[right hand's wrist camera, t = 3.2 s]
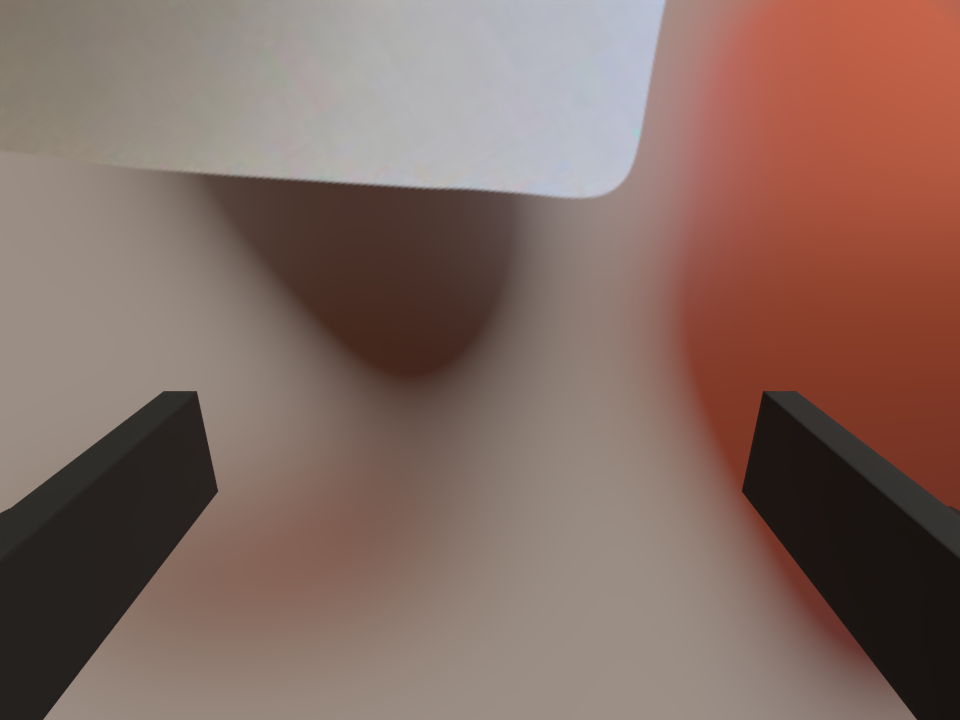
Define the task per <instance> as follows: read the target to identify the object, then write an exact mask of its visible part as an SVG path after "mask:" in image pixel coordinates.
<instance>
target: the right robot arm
mask: <svg viewBox="0 0 960 720" xmlns="http://www.w3.org/2000/svg"><path fill="white" fill-rule="evenodd" d="M217 492H218V489H217V484H216V479H215V475H214V470H213V466H212V461H211V456H210V451H209V446H208V442H207V437H206V432H205V428H204V423H203V418H202V413H201V409H200V404H199V400H198V395H197V391H164V392H162V393H161V394H160V395H158V396H157V397H156V398H154V399H153V400H152V401H150V402H149V403H148V404H146V405H145V406H144V407H143V408H141V409H140V410H139V411H137V412H136V413H135V414H133V415H132V416H131V417H129V418H128V419H127V420H126V421H124V422H123V423H122V424H120V425H119V426H118V427H116V428H115V429H114V430H112V431H111V432H110V433H109V434H107V435H106V436H105V437H103V438H102V439H101V440H99V441H98V442H97V443H95V444H94V445H93V446H91V447H90V448H89V449H88V450H86V451H85V452H84V453H82V454H81V455H80V456H78V457H77V458H76V459H74V460H73V461H72V462H70V463H69V464H68V465H67V466H65V467H64V468H63V469H61V470H60V471H59V472H57V473H56V474H55V475H53V476H52V477H51V478H50V479H48V480H47V481H46V482H44V483H43V484H42V485H40V486H39V487H38V488H36V489H35V490H34V491H33V492H31V493H30V494H29V495H27V496H26V497H25V498H23V499H22V500H21V501H19V502H18V503H17V504H15V505H14V506H13V507H12V508H10V509H8V510H6V511H4V512H2V513H0V720H43V719H44V718H45V716H46V715H47V714H48V712H49V711H50V710H51V709H52V707H53V706H54V705H55V703H56V702H57V701H58V699H59V698H60V697H61V696H62V694H63V693H64V692H65V690H66V689H67V688H68V686H69V685H70V684H71V682H72V681H73V680H74V679H75V677H76V676H77V675H78V673H79V672H80V671H81V669H82V668H83V667H84V665H85V664H86V663H87V662H88V660H89V659H90V658H91V656H92V655H93V654H94V653H95V651H96V650H97V649H98V647H99V646H100V645H101V643H102V642H103V641H104V639H105V638H106V637H107V636H108V634H109V633H110V632H111V630H112V629H113V628H114V626H115V625H116V624H117V623H118V621H119V620H120V619H121V617H122V616H123V615H124V613H125V612H126V611H127V609H128V608H129V607H130V606H131V604H132V603H133V602H134V600H135V599H136V598H137V596H138V595H139V594H140V593H141V591H142V590H143V589H144V587H145V586H146V585H147V583H148V582H149V581H150V579H151V578H152V577H153V576H154V574H155V573H156V572H157V570H158V569H159V568H160V566H161V565H162V564H163V563H164V561H165V560H166V559H167V557H168V556H169V555H170V553H171V552H172V551H173V550H174V548H175V547H176V546H177V544H178V543H179V542H180V540H181V539H182V538H183V536H184V535H185V534H186V533H187V531H188V530H189V529H190V527H191V526H192V525H193V523H194V522H195V521H196V519H197V518H198V517H199V516H200V514H201V513H202V512H203V510H204V509H205V508H206V506H207V505H208V504H209V503H210V501H211V500H212V499H213V497H214V496H215V495H216V493H217ZM742 492H743V493H744V495H745V496H746V497H747V499H748V500H749V501H750V503H751V504H752V505H753V506H754V508H755V509H756V510H757V512H758V513H759V514H760V516H761V517H762V518H763V519H764V521H765V522H766V523H767V525H768V526H769V527H770V529H771V530H772V531H773V533H774V534H775V535H776V536H777V538H778V539H779V540H780V542H781V543H782V544H783V546H784V547H785V548H786V550H787V551H788V552H789V553H790V555H791V556H792V557H793V559H794V560H795V561H796V563H797V564H798V565H799V566H800V568H801V569H802V570H803V572H804V573H805V574H806V576H807V577H808V578H809V579H810V581H811V582H812V583H813V585H814V586H815V587H816V589H817V590H818V591H819V592H820V594H821V595H822V596H823V598H824V599H825V600H826V602H827V603H828V604H829V606H830V607H831V608H832V609H833V611H834V612H835V613H836V615H837V616H838V617H839V619H840V620H841V621H842V623H843V624H844V625H845V626H846V628H847V629H848V630H849V632H850V633H851V634H852V636H853V637H854V638H855V639H856V641H857V642H858V643H859V645H860V646H861V647H862V649H863V650H864V651H865V653H866V654H867V655H868V656H869V658H870V659H871V660H872V662H873V663H874V664H875V666H876V667H877V668H878V669H879V671H880V672H881V673H882V675H883V676H884V677H885V679H886V680H887V681H888V682H889V684H890V685H891V686H892V688H893V689H894V690H895V692H896V693H897V694H898V696H899V697H900V698H901V699H902V701H903V702H904V703H905V705H906V706H907V707H908V709H909V710H910V711H911V712H912V714H913V715H914V716H915V718H916V719H917V720H960V511H959V510H957V509H955V508H953V507H947V506H946V505H944V504H943V503H942V502H941V501H939V500H938V499H937V498H935V497H934V496H933V495H931V494H930V493H929V492H927V491H926V490H925V489H924V488H922V487H921V486H920V485H918V484H917V483H916V482H914V481H913V480H912V479H910V478H909V477H908V476H907V475H905V474H904V473H903V472H901V471H900V470H899V469H897V468H896V467H895V466H893V465H892V464H891V463H890V462H888V461H887V460H886V459H884V458H883V457H882V456H880V455H879V454H878V453H876V452H875V451H874V450H872V449H871V448H870V447H869V446H867V445H866V444H865V443H863V442H862V441H861V440H859V439H858V438H857V437H855V436H854V435H853V434H852V433H850V432H849V431H848V430H846V429H845V428H844V427H842V426H841V425H840V424H838V423H837V422H836V421H834V420H833V419H832V418H831V417H829V416H828V415H827V414H825V413H824V412H823V411H821V410H820V409H819V408H817V407H816V406H815V405H813V404H812V403H811V402H810V401H808V400H807V399H806V398H804V397H803V396H802V395H800V394H799V393H798V392H796V391H763V395H762V399H761V404H760V409H759V414H758V418H757V423H756V428H755V432H754V437H753V442H752V446H751V451H750V456H749V461H748V465H747V470H746V475H745V479H744V484H743V489H742Z"/></svg>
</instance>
